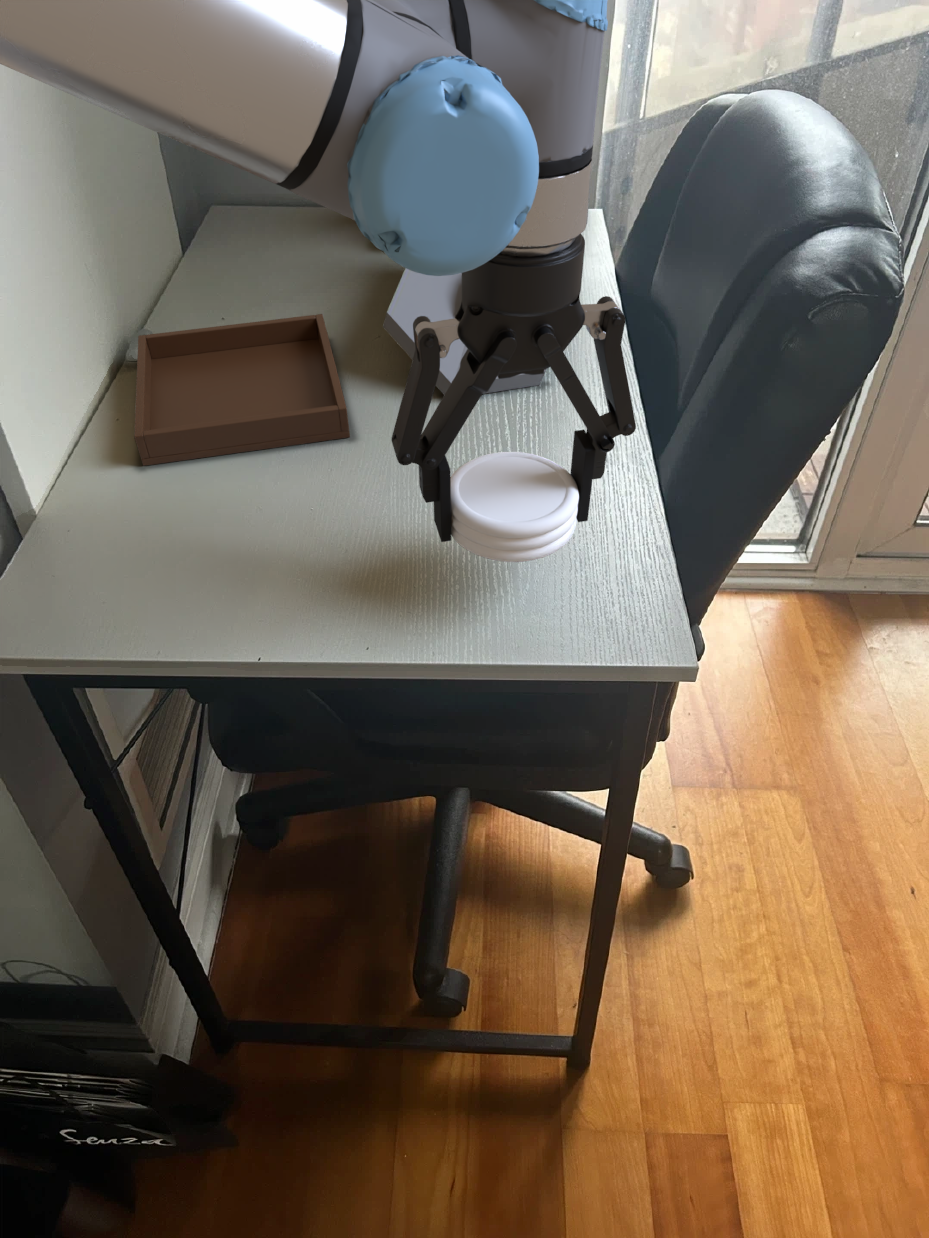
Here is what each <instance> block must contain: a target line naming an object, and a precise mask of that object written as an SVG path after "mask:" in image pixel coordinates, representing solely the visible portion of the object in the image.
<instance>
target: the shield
mask: <svg viewBox="0 0 929 1238" xmlns="http://www.w3.org/2000/svg"><path fill="white" fill-rule="evenodd" d="M461 301H462V273H459V274H455V275H445V276H432V275H425V274H421V273H417V272H414V271H411V270H409V269H406V268H404V271H403V273H402V276H401V278H400V280H399V282H398V285H397V287H396V290H395V292H394V294H393V297H392V299H391V302H390V304H389V306H388V308H387V311H386V314H385V317H384V321H383V325H382V328H383V329H384V330H385V331H386V332H387V334H388V335H389V336H390V337H391V338H392V339H393V340H394V342H396V344H397V345H398V346H399V347H400V348H401V349H402V350H403V351H404V352H405V354H406V355H407V356H408V357H409V358H410V359H411V361H412V360H413V356H414V353H415V342H414V332H413V322H414V320H415V319H416V318H417V317H420V316H426V317H428V318H429V319H430V321H431V322H436V321H442V320H448V319H454V318H455V315H456V313H457V312H458V310H459V308H460V305H461ZM466 351H467V347H466V346H465V345H464V344H463V343H462V341H461V340H460V339H457V340H455V341H453V342H452V343H451V345H450V348H449V352H448V353H447V356H446V357H445V358H440V370H439V375H438V379H437V382H436V386H435V387H436V388H437V389H438V390H439V391H440V392H441V393H442V395H443V396H444V395H445V393H446V391H447V390H448V388H449V386H450V385H451V383H452V381H453V379H454V378H455V376H456V374H457V373H458V371H459V369H460V363H461V360H462V358H463V356H464V354H465V352H466ZM546 372H547V369H546V370H544V374H537V375H529V374H519V375H516V376H513V377H511V378H504V379H499V378H498V376H497V377H496V379H495V381H494V382H493V384H492V386H491V387H490V389H489V390H488V392H486V393H483V394H482V395H484V394H485V395H486V394H491V393H498V392H504V391H509V390H516V389H523V388H531V387H535V386H540V385H541V383H542V381H543V379H544V376H545V374H546Z"/></svg>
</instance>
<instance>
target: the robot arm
mask: <svg viewBox="0 0 929 1238" xmlns="http://www.w3.org/2000/svg"><path fill="white" fill-rule="evenodd" d="M607 14H608V0H0V65H2V66H4V67H7V68H9V69H11V70H13V71H16V72H18V73H20V74H22V75H24V76H27V77H29V78H31V79H34V80H36V81H39V82H41V83H43V84H45V85H48V86H50V87H52V88H55V89H57V90H59V91H61V92H63V93H66V94H69V95H70V96H73V97H75V98H77V99H79V100H82V101H84V102H87V103H89V104H91V105H93V106H96V107H97V108H100V109H102V110H105V111H108V112H110V113H111V114H114V115H116V116H119V117H121V118H123V119H126V120H127V121H130V122H133V123H134V124H137V125H139V126H141V127H144V128H145V129H149V130H151V131H153V132H155V133H157V134H160V135H162V136H164V137H167V138H169V139H171V140H174V141H176V142H179V143H181V144H183V145H185V146H187V147H190V148H192V149H194V150H197V151H199V152H200V153H203V154H206V155H208V156H210V157H212V158H215V159H217V160H220V161H222V162H224V163H226V164H229V165H231V166H233V167H236V168H238V169H240V170H242V171H245V172H247V173H250V174H252V175H254V176H256V177H259V178H261V179H263V180H266V181H268V182H270V183H272V184H275V185H276V186H279V187H282V188H283V189H286V190H287V191H289V192H291V193H292V194H295V195H297V196H298V197H302V198H304V199H306V200H308V201H310V202H313V203H314V204H316V205H319V206H322V207H324V208H326V209H329V210H331V211H333V212H335V213H336V214H337V213H338V214H340V215H342V216H344V217H347V218H349V219H351V220H353V221H354V222H355V223H356V226H357V227H358V230H359V231H360V232H361V234H362V235H363V237H365V238H366V239H367V240H368V241H370V242H371V243H372V245H373V246H374V247H375V248H376V249H378V250H380V251H381V252H383V253H384V254H385V255H386V256H387V257H388V258H389V259H390V260H392V261H393V262H394V263H396V264H397V265H398V266H400V267H402V268H404V269H405V268H406V269H409V270H411V271H414V272H417V273H421V274H425V275H432V276H445V275H455V274H459V273H462V301H461V305H460V308H459V310H458V312H457V313H456V315H455V318H454V319H448V320H442V321H436V322H431V321H430V319H429V318H428V317H426V316H420V317H417V318H416V319H415V320H414V322H413V332H414V342H415V353H414V356H413V360H412V359H411V364H410V368H409V372H408V376H407V379H406V383H405V386H404V390H403V393H402V394H403V395H402V397H401V401H400V405H399V408H398V412H397V418H396V419H395V422H394V423H395V424H394V426H393V427H394V428H393V431H392V435H391V444H392V448H393V450H394V454H395V456H396V460H397V462H398V464H399V465H402V466H408V465H411V464H416V465H418V483H419V485H418V486H419V489H420V492H421V495H422V498H423V501H424V502H425V503H427V504H428V503H433V521H434V524H435V528H436V530H437V533H438V537H439V540H440V542H441V543H444V542H451V541H452V535H451V482H450V477H451V467H450V464H449V462H448V459H447V456H446V455H447V453H448V451H449V449H451V446H452V444H453V443H454V441H455V440H456V438H457V436H458V435H459V433H460V431H461V430H462V428H463V426H465V423H466V421H467V420H468V418H469V417H470V415H471V413H472V412H473V410H474V409H475V407H476V406H477V404H478V402H479V401H480V399H481V397H482V395H484V394H483V393H485V394H487V393H486V392H488V390H489V389H490V387H491V386H492V384H493V382H494V381H495V379H496V377H497V376H498V378H499V379H504V378H511V377H513V376H516V375H519V374H529V375H537V374H544V370H546V371H547V370H548V369H549V368H550V370H551V371H552V372H553V374H554V375H555V377H556V379H557V381H558V383H559V385H560V386H561V387H562V389H563V391H564V392H565V394H566V396H567V398H568V399H569V401H570V402H571V405H572V406H573V408H574V409H575V411H576V413H577V414H578V416H579V418H580V420H581V421H582V423H583V424H584V426H585V428H586V430H585V429H579V430H574V433H573V444H572V454H571V462H570V472H569V473H570V474H571V476H572V477H573V478H574V480H575V482H576V484H577V488H578V491H579V501H578V512H577V516H576V518H577V523H583V522H588V521H589V520H588V519H589V513H590V503H591V495H592V485H593V480H598V479H602V478H603V476H604V475H605V470H606V461H607V454H608V453H609V452H611V451H612V450H613V449H614V448H615V445H616V442H615V440H614V438H616V437H619V436H624V437H628V436H631V435H632V434H634V433H635V431H636V429H637V424H636V418H635V413H634V407H633V402H632V397H631V391H630V386H629V380H628V375H627V369H626V364H625V358H624V354H623V348H622V341H623V336H624V331H625V325H626V316H625V314H624V313H623V311H622V310H621V309H620V307H619V306H618V305H617V303H616V302H615V300H614V299H613V297H611V296H607V295H604V296H602V297H600V298H598V300H597V302H596V303H585V304H582V303H581V299H580V298H581V297H580V296H581V291H582V282H583V269H584V259H585V248H586V239H585V237H584V236H583V234H582V233H584V231H585V230H586V228H587V225H588V220H589V219H588V217H589V207H590V206H589V204H590V193H591V177H592V164H593V153H594V137H595V127H596V117H597V108H598V107H597V106H598V96H599V88H600V87H599V85H600V76H601V69H602V58H603V49H604V41H605V32H607V31H608V26H609V21H608V18H607V17H608V15H607ZM584 326H585V328H586V331H587V332H588V334H589V335H590V336H591V338H592V339H593V344H594V348H595V352H596V357H597V361H598V363H597V364H598V367H599V372H600V377H601V381H602V386H603V392H604V396H605V401H606V406H607V411H608V412H606V413H604V414H601V415H600V414H599V412H598V410H597V409H596V407H595V405H594V403H593V402H592V400H591V398H590V396H589V394H588V393H587V391H586V389H585V388H584V386H583V384H582V382H581V381H580V379H579V377H578V375H577V373H576V372H575V371H576V370H575V369H574V368H573V366H572V365H571V363H570V361H569V359H568V358H567V355H566V354H565V350H566V349H567V348H568V346H569V345H570V344H571V343H572V341H573V340H574V339H575V338H576V336H577V334H579V332H580V331H581V330H582V328H583V327H584ZM457 339H460V340H461V341H462V343H463V344H464V345H465V346H466V347H467V351H466V352H465V354H464V356H463V358H462V360H461V363H460V369H459V371H458V373H457V374H456V376H455V378H454V379H453V381H452V383H451V385H450V386H449V388H448V390H447V391H446V393H445V395H444V394H443V397H442V398H441V400H440V402H439V404H438V405H437V407H436V409H435V410H434V412H433V413H432V416H431V417H430V419H429V421H428V422H427V424H426V426H425V423H426V420H427V416H428V414H429V413H428V412H429V410H430V407H431V403H432V399H433V396H434V392H435V390H436V389H435V388H436V387H437V386H436V382H437V379H438V375H439V370H440V358H445V357H446V356H447V353H448V352H449V348H450V345H451V343H452V342H453V341H455V340H457ZM544 375H545V374H544Z"/></svg>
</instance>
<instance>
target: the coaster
mask: <svg viewBox="0 0 929 1238" xmlns="http://www.w3.org/2000/svg"><path fill="white" fill-rule="evenodd" d="M570 473H571V472H569V471H568V470H567V469H565V468H564V467H563V466H562V465H560V464H559V463H557V462H555V461H553V460H551V459H550V458H547V457H544V456H542V455H537V454H534V453H529V452H523V451H499V452H498V451H497V452H492V453H487V454H483V455H480V456H477V457H475V458H472V459H471V460H470V459H469V461H466V462H465V463H463V464H462V465H460V466H459V467H458V468H457V469H456V470H455V471H453V473H452V474H451V475H450V482H451V538H453V540H454V541H455V542H456V544H458V545H459V546H461V547H462V548H463V549H465V550H466V551H468V552H470V553H472V554H474V555H476V556H478V557H481V558H484V559H487V560H492V561H497V562H503V563H504V562H505V563H522V562H530V561H534V560H538V559H539V560H540V559H543V558H545V557H548V556H550V555H552V554H554V553H556V552H558V551H560V550H561V549H562V548H563V547H564V546H566V545H567V544H568V543H569V542H570V540H571V538H572V536H573V535H574V533H575V531H576V527H577V523H578V521H577V518H576V516H577V512H578V501H579V491H578V488H577V484H576V482H575V480H574V478H573V477H572V476H571V474H570Z"/></svg>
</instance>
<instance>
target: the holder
mask: <svg viewBox="0 0 929 1238" xmlns="http://www.w3.org/2000/svg"><path fill="white" fill-rule="evenodd" d="M333 353H334V352H333V350H332V346H331V342H330V338H329V334H328V330H327V326H326V322H325V317H324V315H323V313H319V314H318V313H317V314H310V315H301V316H292V317H284V318H277V319H268V320H267V319H266V320H259V321H251V322H243V323H234V324H226V325H225V324H224V325H217V326H209V327H201V328H192V329H183V330H174V331H167V332H158V333H150V334H149V333H148V334H141V335H140V334H139V335H138V336H137V358H136V381H135V383H136V384H135V406H134V407H135V408H134V409H135V410H134V411H135V412H134V434H133V437H134V441H135V444H136V448H137V450H138V454H139V457H140V461H141V463H142V466H144V467H147V466H152V465H153V466H154V465H160V464H167V463H174V462H181V461H189V460H195V459H204V458H211V457H217V456H225V455H232V454H240V453H246V452H248V453H249V452H253V451H261V450H268V449H275V448H282V447H283V448H284V447H289V446H297V445H298V446H299V445H304V444H312V443H320V442H326V441H334V440H340V439H348V438H350V437H351V433H350V424H349V416H348V408H347V405H346V404H347V403H346V401H345V396H344V393H343V389H342V385H341V381H340V377H339V374H338V373H339V372H338V370H337V365H336V361H335V358H334V354H333Z"/></svg>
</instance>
